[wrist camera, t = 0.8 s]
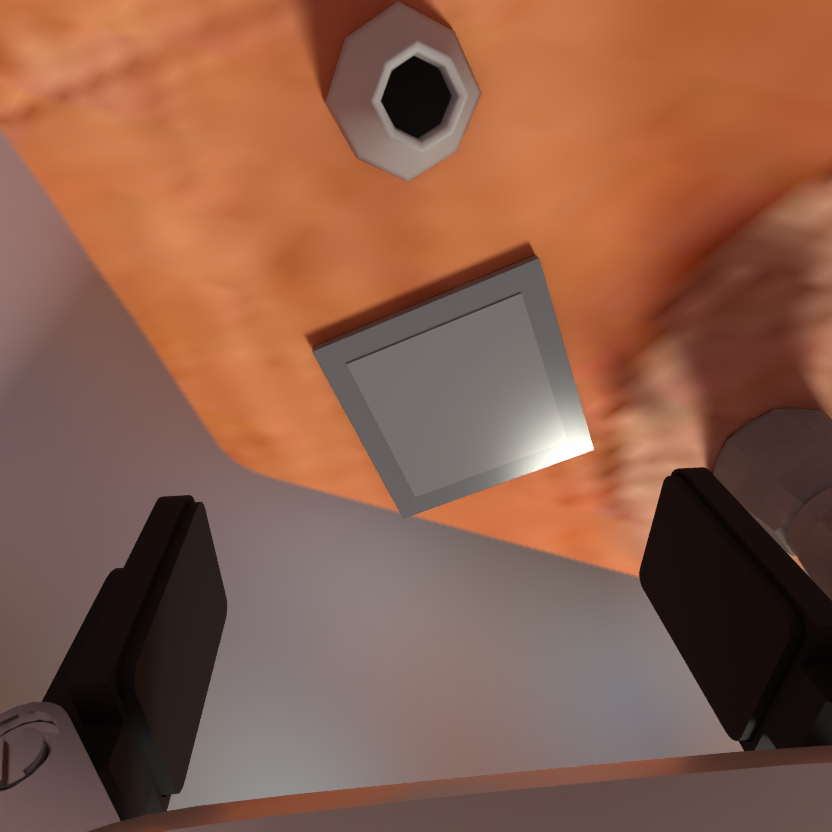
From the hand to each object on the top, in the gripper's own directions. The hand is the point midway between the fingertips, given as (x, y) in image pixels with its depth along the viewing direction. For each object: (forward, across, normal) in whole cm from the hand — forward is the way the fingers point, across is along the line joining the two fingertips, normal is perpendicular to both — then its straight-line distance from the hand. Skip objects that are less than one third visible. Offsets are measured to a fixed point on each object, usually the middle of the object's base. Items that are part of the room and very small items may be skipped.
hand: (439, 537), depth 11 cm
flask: (+23, -1, -8) cm, 25 cm away
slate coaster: (+23, -4, +9) cm, 25 cm away
